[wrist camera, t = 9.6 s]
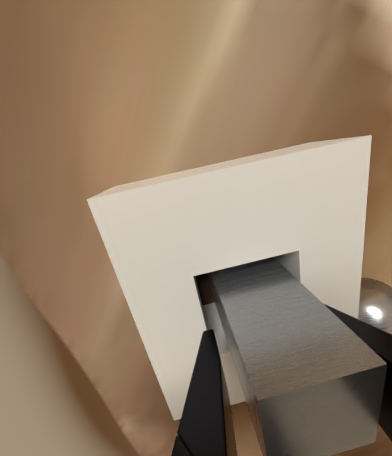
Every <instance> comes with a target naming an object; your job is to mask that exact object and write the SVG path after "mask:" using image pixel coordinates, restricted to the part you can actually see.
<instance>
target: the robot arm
mask: <svg viewBox="0 0 392 456" xmlns="http://www.w3.org/2000/svg"><path fill="white" fill-rule="evenodd" d="M324 305H325V306H326V307H327V308H328V309H329V310H330V311H331V312H333V313H334V314H335V315H336V316H337V317H338V318H339V319H340V320H341V321H342V322H343V323H344V324H345V325H346V326H347V327H349V328H350V329H351V330H352V331H353V332H354V333H355V334H356V335H357V336H358V337H359V338H360V339H361V340H362V341H363V342H365V343H366V344H367V345H368V346H369V347H370V348H371V349H372V350H373V351H374V352H375V353H376V354H377V355H378V356H379V357H381V358H382V359H383V360H384V361H385V362H386V363H387V371H386V377H385V384H384V390H383V396H382V403H381V409H380V416H379V422H378V424H379V425H380V426H381V428H382V429H383V430H384V432H385V433H386V434H387V436H388V437H389V438H390V440H391V441H392V334H390V333H388V332H385V331H383V330H381V329H379V328H376V327H374V326H372V325H370V324H368V323H365V322H363V321H361V320H359V319H357V318H354V317H352V316H350V315H348V314H346V313H343V312H341V311H339V310H337V309H335V308H332V307H330V306H328V305H326V304H324ZM177 434H178V435H177V436H176V439H175V443H174V447H173V451H172V455H171V456H237V450H236V443H235V436H234V428H233V421H232V413H231V406H230V399H229V393H228V388H227V384H226V380H225V375H224V371H223V367H222V362H221V358H220V354H219V350H218V346H217V341H216V337H215V333H214V330H213V329H210V330H206V331H204V332H203V333H202V337H201V341H200V345H199V349H198V353H197V357H196V361H195V365H194V369H193V373H192V377H191V381H190V385H189V389H188V392H187V396H186V400H185V404H184V408H183V412H182V416H181V420H180V424H179V428H178V432H177Z"/></svg>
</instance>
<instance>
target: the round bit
mask: <svg viewBox="0 0 392 456" xmlns="http://www.w3.org/2000/svg"><path fill="white" fill-rule="evenodd" d="M358 319H359V320H361V321H363V322H365V323H368V324H370V325H372V326H374V327H376V328H379V329H381V330H383V331H385V332H388V333H390V334H392V288H391V287H390V286H388V285H387V284H385V283H383V282H380V281H377V280H374V279H369V278H361V286H360V300H359V313H358Z"/></svg>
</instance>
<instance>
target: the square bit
mask: <svg viewBox="0 0 392 456" xmlns="http://www.w3.org/2000/svg"><path fill="white" fill-rule="evenodd" d="M208 278H209V283H210V287H211V292H212V295H213V299H214V302H215V305H216V308H217V311H218V314H219V318H220V321H221V324H222V327H223V330H224V333H225V336H226V340H227V343H228V346H229V349H230V352H231V355H232V359H233V362H234V365H235V368H236V371H237V374H238V378H239V381H240V384H241V387H242V390H243V393H244V396H245V400H246V403H247V406H248V409H249V412H250V415H251V419H252V422H253V425H254V428H255V431H256V434H257V438H258V441H259V444H260V447H261V450H262V453H263V456H332V455H335V454H338V453H342V452H345V451H348V450H352V449H355V448H358V447H362V446H365V445H368V444H372V443H375V442H376V435H377V429H378V422H379V416H380V409H381V403H382V396H383V390H384V384H385V377H386V371H387V363H386V362H385V361H384V360H383V359H382V358H381V357H379V356H378V355H377V354H376V353H375V352H374V351H373V350H372V349H371V348H370V347H369V346H368V345H367V344H366V343H365V342H363V341H362V340H361V339H360V338H359V337H358V336H357V335H356V334H355V333H354V332H353V331H352V330H351V329H350V328H349V327H347V326H346V325H345V324H344V323H343V322H342V321H341V320H340V319H339V318H338V317H337V316H336V315H335V314H334V313H333V312H331V311H330V310H329V309H328V308H327V307H326V306H325V305H324V304H323V303H322V302H321V301H320V300H319V299H318V298H317V297H315V296H314V295H313V294H312V293H311V292H310V291H309V290H308V289H307V288H306V287H305V286H304V285H303V284H302V283H300V282H299V281H298V280H297V279H296V278H295V277H294V276H293V275H292V274H291V273H290V272H289V271H288V270H287V269H286V268H284V267H283V266H282V265H281V264H280V263H279V262H278V261H277V260H276V259H275V258H274V257H270V258H266V259H262V260H258V261H254V262H250V263H246V264H242V265H237V266H233V267H229V268H225V269H221V270H217V271H213V272H209V273H208Z"/></svg>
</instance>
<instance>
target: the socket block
mask: <svg viewBox="0 0 392 456" xmlns="http://www.w3.org/2000/svg"><path fill="white" fill-rule="evenodd" d="M371 137H372V135H369V136H361V137H353V138H344V139H336V140H327V141H319V142H310V143H305V144H301V145H296V146H292V147H287V148H283V149H279V150H274V151H270V152H265V153H261V154H256V155H252V156H247V157H243V158H239V159H234V160H230V161H225V162H221V163H216V164H212V165H207V166H203V167H199V168H194V169H190V170H185V171H181V172H176V173H172V174H167V175H163V176H159V177H154V178H150V179H145V180H141V181H136V182H132V183H127V184H123V185H119V186H114V187H112V188H110V189H108V190H106V191H104V192H102V193H100V194H98V195H96V196H93V197H91V198H89V199H87V201H88V204H89V206H90V209H91V211H92V214H93V217H94V219H95V222H96V224H97V227H98V229H99V232H100V234H101V237H102V239H103V242H104V244H105V247H106V249H107V252H108V255H109V257H110V260H111V262H112V265H113V267H114V270H115V272H116V275H117V277H118V280H119V282H120V285H121V288H122V290H123V293H124V295H125V298H126V300H127V303H128V305H129V308H130V310H131V313H132V315H133V318H134V320H135V323H136V326H137V328H138V331H139V333H140V336H141V338H142V341H143V343H144V346H145V348H146V351H147V353H148V356H149V358H150V361H151V364H152V366H153V369H154V371H155V374H156V376H157V379H158V381H159V384H160V386H161V389H162V391H163V394H164V397H165V399H166V402H167V404H168V407H169V409H170V412H171V414H172V417H173V419H174V420H178V419H181V416H182V412H183V408H184V404H185V400H186V396H187V392H188V389H189V385H190V381H191V377H192V373H193V369H194V365H195V361H196V357H197V353H198V349H199V345H200V341H201V337H202V333H203V332H204V331H206V330H210V329H213V330H214V333H215V337H216V341H217V346H218V350H219V354H220V358H221V362H222V367H223V371H224V375H225V380H226V384H227V388H228V393H229V399H230V405H234V404H238V403H241V402H245V401H246V400H245V396H244V393H243V390H242V387H241V384H240V381H239V378H238V374H237V371H236V368H235V365H234V362H233V359H232V355H231V352H230V349H229V346H228V343H227V340H226V336H225V333H224V330H223V327H222V324H221V321H220V318H219V314H218V311H217V308H216V305H215V302H214V303H210V304H206V305H202V301H201V297H200V293H199V289H198V285H197V281H196V277H195V276H196V275H201V274H205V273H209V272H213V271H217V270H221V269H225V268H229V267H233V266H237V265H242V264H246V263H250V262H254V261H258V260H262V259H266V258H270V257H274V258H275V259H276V260H277V261H278V262H279V263H280V264H281V265H282V266H283V267H284V268H286V269H287V270H288V271H289V272H290V273H291V274H292V275H293V276H294V277H295V278H296V279H297V280H298V281H299V282H300V283H302V284H303V285H304V286H305V287H306V288H307V289H308V290H309V291H310V292H311V293H312V294H313V295H314V296H315V297H317V298H318V299H319V300H320V301H321V302H322V303H323V304H326V305H328V306H330V307H332V308H335V309H337V310H339V311H341V312H343V313H346V314H348V315H350V316H352V317H354V318H357V319H358V313H359V300H360V286H361V272H362V259H363V245H364V232H365V218H366V205H367V191H368V178H369V164H370V151H371Z"/></svg>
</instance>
